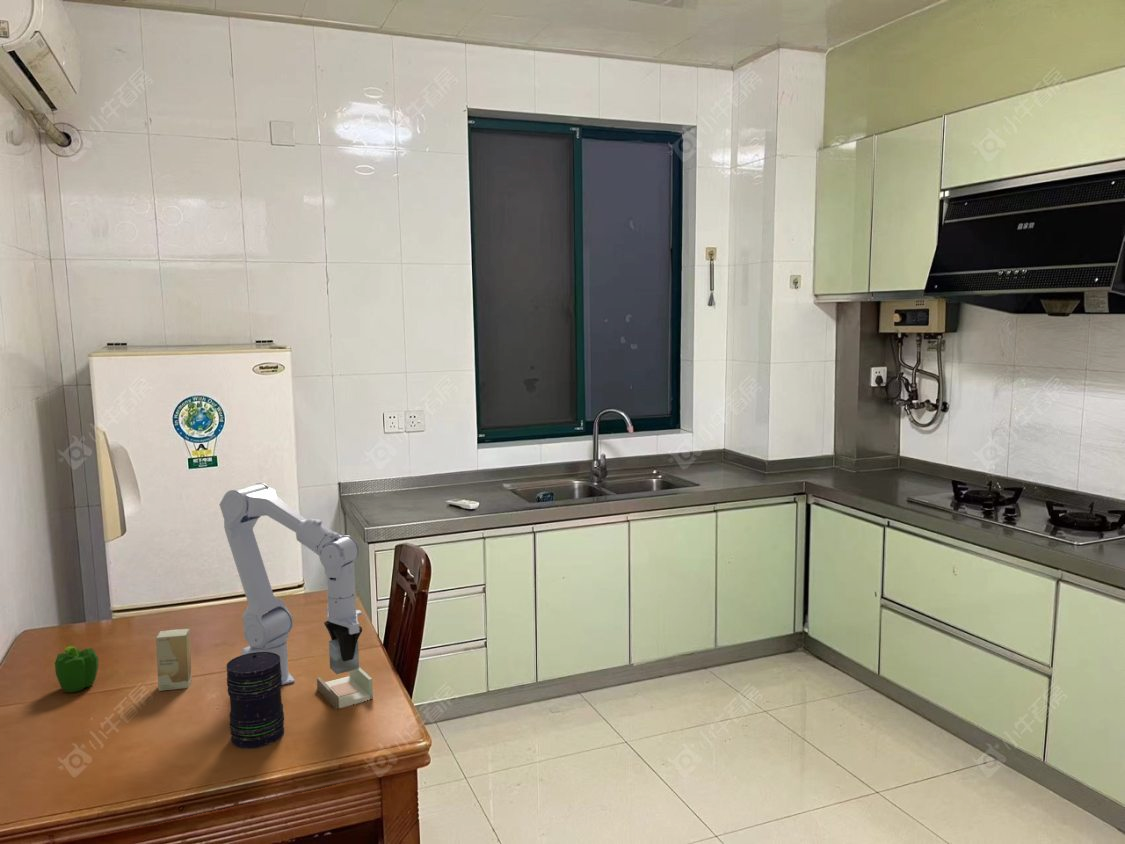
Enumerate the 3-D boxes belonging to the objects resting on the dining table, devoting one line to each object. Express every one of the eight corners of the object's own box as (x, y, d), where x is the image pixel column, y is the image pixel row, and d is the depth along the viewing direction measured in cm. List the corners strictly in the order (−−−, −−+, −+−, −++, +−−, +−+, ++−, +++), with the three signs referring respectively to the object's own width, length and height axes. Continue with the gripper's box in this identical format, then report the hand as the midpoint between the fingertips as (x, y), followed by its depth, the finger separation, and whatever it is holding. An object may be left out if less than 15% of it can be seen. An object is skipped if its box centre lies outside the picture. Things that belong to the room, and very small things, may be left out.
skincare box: (158, 692, 178) (154, 637, 176) (162, 683, 182) (158, 630, 181) (190, 688, 180) (186, 634, 178) (193, 680, 184) (189, 627, 182)
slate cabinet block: (336, 674, 172) (335, 646, 171) (330, 667, 175) (328, 640, 175) (359, 668, 175) (358, 641, 174) (352, 662, 178) (351, 635, 177)
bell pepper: (83, 677, 186) (80, 634, 185) (107, 683, 182) (104, 640, 181) (46, 691, 179) (42, 647, 177) (70, 699, 175) (66, 654, 174)
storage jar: (283, 744, 154) (279, 668, 153) (228, 752, 152) (223, 675, 150) (285, 720, 164) (281, 648, 162) (233, 727, 161) (228, 655, 160)
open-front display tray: (335, 709, 168) (334, 688, 168) (317, 688, 178) (316, 668, 178) (372, 699, 173) (372, 678, 172) (352, 679, 183) (351, 660, 182)
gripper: (372, 600, 170) (374, 662, 171) (347, 582, 181) (350, 641, 183) (339, 606, 166) (342, 671, 167) (316, 588, 177) (319, 648, 179)
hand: (344, 656), depth 175 cm, fingers closed on slate cabinet block, 4 cm apart
